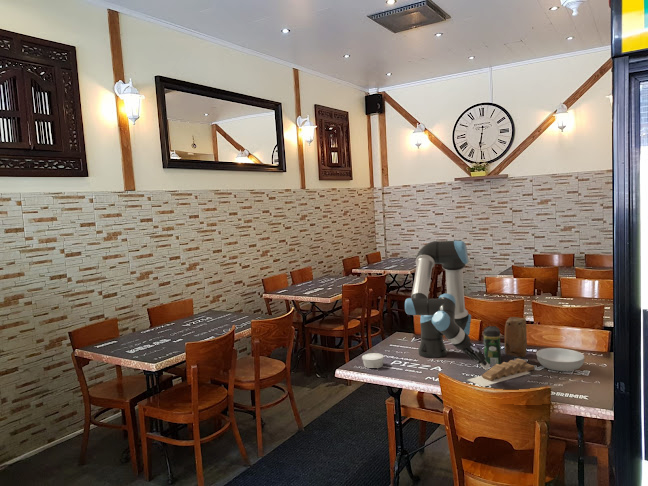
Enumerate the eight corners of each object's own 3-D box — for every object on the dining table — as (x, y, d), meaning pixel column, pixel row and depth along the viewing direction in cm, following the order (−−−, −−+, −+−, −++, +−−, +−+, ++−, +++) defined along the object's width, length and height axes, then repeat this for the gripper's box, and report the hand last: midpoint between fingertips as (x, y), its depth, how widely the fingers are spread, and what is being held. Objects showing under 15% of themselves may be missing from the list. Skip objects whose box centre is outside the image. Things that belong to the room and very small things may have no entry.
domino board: (482, 388, 211) (482, 386, 211) (466, 381, 220) (466, 379, 220) (531, 374, 224) (530, 372, 224) (513, 369, 233) (513, 367, 233)
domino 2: (497, 376, 218) (512, 364, 222) (489, 373, 223) (503, 361, 227) (498, 379, 219) (513, 367, 223) (490, 376, 223) (504, 364, 227)
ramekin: (360, 369, 246) (359, 358, 245) (365, 362, 256) (365, 352, 256) (381, 370, 242) (381, 360, 241) (386, 363, 252) (386, 353, 252)
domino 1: (489, 378, 216) (504, 366, 220) (481, 375, 221) (496, 363, 225) (491, 381, 217) (505, 369, 221) (482, 378, 221) (497, 366, 225)
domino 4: (512, 372, 222) (526, 360, 226) (503, 369, 227) (517, 358, 231) (513, 375, 223) (526, 363, 227) (504, 372, 227) (518, 361, 231)
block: (527, 354, 253) (527, 317, 252) (525, 358, 247) (524, 320, 246) (506, 352, 259) (505, 315, 258) (503, 356, 253) (502, 319, 251)
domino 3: (505, 374, 220) (519, 362, 224) (496, 371, 225) (510, 359, 229) (506, 377, 221) (520, 365, 225) (497, 373, 225) (511, 362, 229)
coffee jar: (484, 359, 249) (483, 324, 248) (501, 360, 246) (500, 325, 245) (484, 366, 240) (483, 329, 239) (501, 367, 237) (500, 330, 236)
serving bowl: (526, 366, 237) (526, 352, 236) (557, 358, 245) (557, 345, 244) (562, 379, 218) (562, 364, 217) (595, 370, 226) (594, 356, 225)
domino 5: (519, 370, 224) (534, 365, 229) (510, 367, 229) (525, 363, 233) (519, 373, 225) (534, 369, 229) (510, 370, 229) (525, 366, 233)
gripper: (443, 341, 215) (472, 370, 224) (464, 348, 203) (494, 378, 212) (452, 327, 217) (481, 357, 226) (473, 333, 205) (502, 364, 214)
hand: (487, 367), depth 219 cm, fingers closed
